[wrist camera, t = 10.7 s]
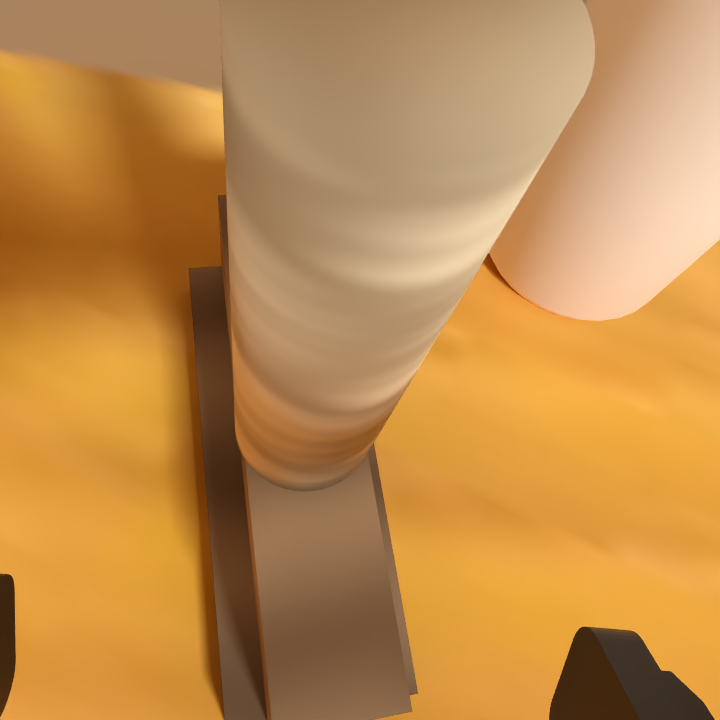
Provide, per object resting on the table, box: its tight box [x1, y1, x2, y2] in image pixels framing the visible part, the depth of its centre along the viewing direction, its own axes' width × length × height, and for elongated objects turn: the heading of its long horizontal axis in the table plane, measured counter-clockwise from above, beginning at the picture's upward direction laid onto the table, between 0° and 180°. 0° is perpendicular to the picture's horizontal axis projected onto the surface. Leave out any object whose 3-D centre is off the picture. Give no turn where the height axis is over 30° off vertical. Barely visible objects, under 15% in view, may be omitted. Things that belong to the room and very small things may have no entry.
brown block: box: [189, 195, 418, 720], centre depth 23 cm, size 16×6×6 cm, turn 9°
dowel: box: [219, 0, 595, 492], centre depth 13 cm, size 4×4×14 cm
